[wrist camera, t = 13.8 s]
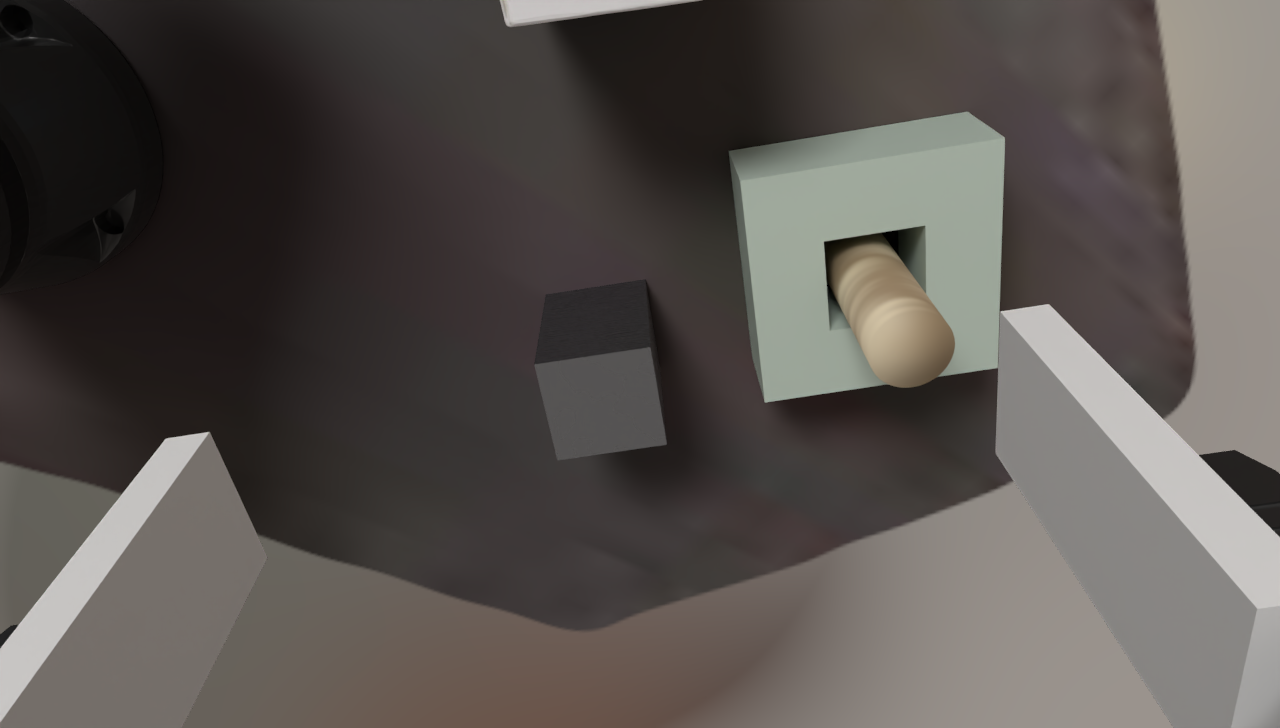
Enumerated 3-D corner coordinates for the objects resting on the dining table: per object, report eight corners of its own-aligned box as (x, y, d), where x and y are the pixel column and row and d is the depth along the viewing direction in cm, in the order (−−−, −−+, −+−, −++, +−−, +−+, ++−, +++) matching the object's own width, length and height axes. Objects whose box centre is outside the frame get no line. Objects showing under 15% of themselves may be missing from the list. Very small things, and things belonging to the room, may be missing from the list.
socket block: (752, 357, 52) (764, 402, 47) (728, 151, 46) (740, 180, 42) (964, 324, 51) (997, 367, 47) (967, 111, 45) (1004, 137, 41)
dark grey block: (565, 381, 52) (557, 460, 45) (545, 294, 50) (534, 364, 43) (660, 366, 52) (666, 444, 45) (645, 279, 49) (650, 347, 42)
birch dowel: (817, 282, 50) (871, 394, 39) (811, 221, 48) (866, 319, 37) (883, 271, 49) (955, 379, 39) (879, 208, 48) (953, 304, 37)
